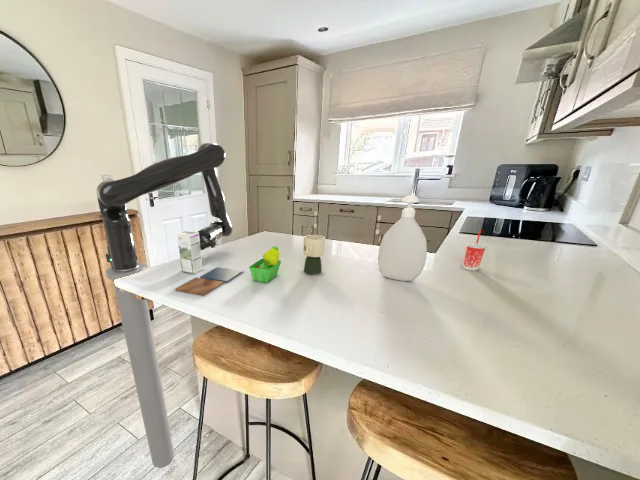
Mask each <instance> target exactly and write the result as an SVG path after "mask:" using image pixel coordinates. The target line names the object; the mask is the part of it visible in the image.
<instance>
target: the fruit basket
mask: <svg viewBox="0 0 640 480" xmlns="http://www.w3.org/2000/svg"><path fill="white" fill-rule="evenodd" d="M280 253H281V252H280V249H279V247H278V246H272V247H270V248H269V250H267V251H265V252H264V253H263V254H262V258H261V259H259V260H257V261H256V262H254V263H253V264H251V265H249V266H248V269H249V270H250V273H251V276H252V280H253V281H254V282H259V283H260V282H261V283H268V282H269V281H271V280H272V279H273V278H275V277H276V276H277V275H278V274H279V273H278V272H279V269H280V265H281V263H282V260H280Z"/></svg>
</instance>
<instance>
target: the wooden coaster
mask: <svg viewBox="0 0 640 480" xmlns="http://www.w3.org/2000/svg"><path fill="white" fill-rule="evenodd" d="M223 284H224V282H221V281H215V280H209V279H203V278H200V277H197V276H196V277H193V278H192V279H190V280H189V281H187V282H185V283H183V284H181V285H179V286H178V287H175V291H178V292H183V293H187V294H188V293H189V294H194V295H199V296H206V295H207V294H209V293H211V292H212V291H214V290H215V289H217V288H218V287H220V286H221V285H223Z"/></svg>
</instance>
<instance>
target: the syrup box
mask: <svg viewBox="0 0 640 480" xmlns="http://www.w3.org/2000/svg"><path fill="white" fill-rule="evenodd" d="M176 237H177V243H178V244H179V245H178V249H179V250H178V251H179V259H180V266H181V272H183V273H188V274H193V275H194V274H196V273H199V272H200V271H203V261H202V260H203V259H202V250H201V248H200V238H199V232H198V231H192V230H191V231H190V230H184V231H181V232H179V233H177V236H176Z"/></svg>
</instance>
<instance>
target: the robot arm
mask: <svg viewBox="0 0 640 480" xmlns="http://www.w3.org/2000/svg"><path fill="white" fill-rule="evenodd" d="M225 160H226V151H225V149H224V148H223V146H221V145H219V144H217V143H214V142H204V143H201V144H200V145H199V146H198V148H197V151H195V152H193V153H189V154H184V155H179V156H174V157H173V156H172V157H169V158H165V159H163V160H159V161H157V162H155V163H152V164H150V165H148V166H146V167H145V168H143V169H142V170H140V171H138V172H137V173H135V174H133V175H131V176H127V177H124V178H120V179H116V180H104V181H101V182H100V183H99V184H98V185H97V187H96V199H97V202H98V207H99V212H100V216H101V219H102V222H103V227H104V231H105V236H106V240H107V246H106V248H107V252H108V253H105V258H106V262H107V263H109V264H110V266H111V267H112V270H113V271H115V272H129V271H133V270H136V269H137V268H138V267H139V266H138V263H139V262H138V255H137V251H136V246H135V241H134V234H133V230H132V224H131V218H130V215H129V213H128V210H127V204H129V203H130V202H132V201H134V200H136V199H138V198H139V197H141V196H144V195H147V194H150V193H154V192H156V191H160V190H162V189H166V188H169V187H170V186H172V185H175V184H177V183H179V182H182V181H184V180H186V179H188V178H190V177H192V176H194V175H196V174H199V173H201V174H202V177H203V181H204V183H205V184H204V185H205V189H206V193H207V198H208V204H209V211H210V215H211V217H213V218H217V219H219V220H214V221H211V222H210V223H209V225H208V226H206V227H203V228H201V229H199V230H197V232H199V238H200V249H201V251H205V250H206V249H209V248H211V249H214V248H215V247H216V246H217V245H218V244H219V242H218V241H219V240H220V239H222V237H230V236H232V234H233V225H232V224H233V223H232V221H231V220H230V218H229V215H228V211H227V208H226V201H225V194H224V192H223V189H222V187H221V184H220V181H219V177H218V173H217V168H219V167H221V166H222V165H223V164H224V161H225ZM178 246H179V244H178Z"/></svg>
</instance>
